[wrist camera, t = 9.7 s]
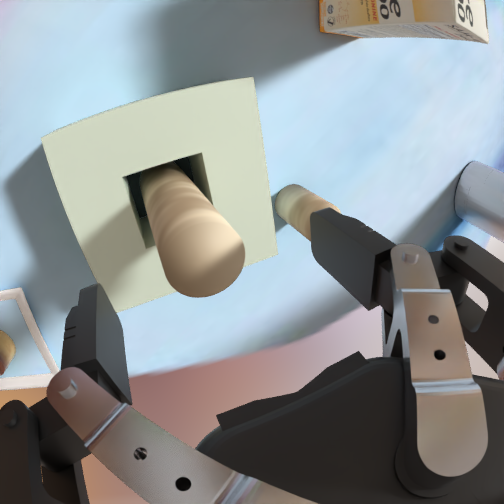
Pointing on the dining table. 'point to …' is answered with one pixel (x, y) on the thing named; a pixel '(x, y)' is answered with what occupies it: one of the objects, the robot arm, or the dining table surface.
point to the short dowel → (299, 207)
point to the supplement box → (406, 19)
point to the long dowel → (190, 233)
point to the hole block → (152, 154)
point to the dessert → (4, 349)
